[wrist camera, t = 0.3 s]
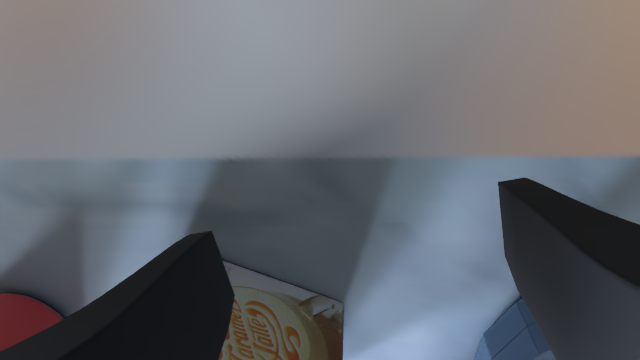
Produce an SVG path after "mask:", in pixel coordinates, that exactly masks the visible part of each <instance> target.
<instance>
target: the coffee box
mask: <svg viewBox="0 0 640 360" xmlns="http://www.w3.org/2000/svg"><path fill="white" fill-rule="evenodd" d="M223 264H224V266H225V269H226V272H227V275H228V277H229V280H230V283H231V286H232V288H233V291H234V294H235V297H234V303H233V309H232V315H231V320H230V325H229V329H228V332H227V335H226V338H225V341H224V344H223V347H222V350H221V353H220V356H219V359H218V360H343V323H344V305H343V303H341V302H339V301H336V300H333V299H331V298H328V297H325V296H322V295H319V294H316V293H313V292H310V291H308V290H305V289H302V288H299V287H296V286H294V285H291V284H288V283H285V282H282V281H279V280H276V279H274V278H271V277H268V276H265V275H262V274H259V273H257V272H254V271H251V270H248V269H245V268H242V267H240V266H237V265H234V264H231V263H228V262H225V261H223Z"/></svg>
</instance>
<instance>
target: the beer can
mask: <svg viewBox="0 0 640 360" xmlns="http://www.w3.org/2000/svg"><path fill="white" fill-rule="evenodd" d="M63 319H64V318H63V317H62V316H61V315H60V314H59V313H58V312H56V311H55V310H54V309H52V308H51V307H50V306H48V305H47V304H45V303H43V302H41V301H38V300H36V299H34V298H32V297H29V296H24V295H19V294H14V293H1V294H0V351H2V350H4V349H7V348H9V347H11V346H13V345H15V344H17V343H19V342H21V341H23V340H25V339H27V338H29V337H31V336H33V335H35V334H37V333H39V332H41V331H43V330H45V329H47V328H49V327H51V326H52V325H54V324H56V323H58V322H60V321H61V320H63Z"/></svg>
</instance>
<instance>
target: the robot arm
mask: <svg viewBox="0 0 640 360" xmlns="http://www.w3.org/2000/svg"><path fill="white" fill-rule="evenodd" d="M498 187H499V197H500V208H501V218H502V229H503V239H504V250H505V257H506V259H507V262H508V265H509V268H510V270H511V273H512V276H513V278H514V281H515V284H516V286H517V289H518V291H519V293H520V295H521V297H522V298H523V300H524V302H525V304H526V306H527V308H528V310H529V311H530V313H531V315H532V317H533V319H534V321H535V322H536V324H537V326H538V328H539V330H540V332H541V333H542V335H543V337H544V339H545V341H546V343H547V344H548V346H549V348H550V350H551V352H552V353H553V355H554V357H555V359H556V360H640V225H639V224H636V223H633V222H630V221H627V220H624V219H621V218H619V217H616V216H613V215H611V214H608V213H605V212H603V211H600V210H598V209H595V208H593V207H590V206H588V205H586V204H583V203H581V202H579V201H576V200H574V199H572V198H570V197H568V196H565V195H563V194H561V193H559V192H557V191H555V190H553V189H550V188H548V187H546V186H544V185H542V184H540V183H537V182H535V181H533V180H530V179H528V178H520V179H514V180H508V181H503V182H498ZM234 297H235V294H234V291H233V288H232V286H231V283H230V280H229V277H228V275H227V272H226V269H225V266H224V264H223V261H222V258H221V255H220V253H219V250H218V247H217V244H216V242H215V239H214V236H213V233H212V231H208V232H202V233H196V234H190V235H188V236H186V237H184V238H183V239H181V240H179V241H178V242H176V243H175V244H173V245H172V246H170V247H169V248H168V249H166V250H165V251H163V252H162V253H161V254H159V255H158V256H157V257H155V258H154V259H153V260H151V261H150V262H149V263H147V264H146V265H144V266H143V267H142V268H140V269H139V270H138V271H136V272H135V273H134V274H132V275H131V276H129V277H128V278H127V279H125V280H124V281H122V282H121V283H119V284H118V285H116V286H115V287H114V288H112V289H111V290H109V291H108V292H106V293H105V294H103V295H102V296H101V297H99V298H98V299H96V300H94V301H93V302H91V303H90V304H88V305H87V306H85V307H83V308H82V309H80V310H79V311H77V312H75V313H73V314H72V315H70V316H68V317H66V318H65V319H63V320H61V321H60V322H58V323H56V324H54V325H52V326H51V327H49V328H47V329H45V330H43V331H41V332H39V333H37V334H35V335H33V336H31V337H29V338H27V339H25V340H23V341H21V342H19V343H17V344H15V345H13V346H11V347H9V348H7V349H4V350H2V351H0V360H218V359H219V356H220V353H221V350H222V347H223V344H224V341H225V338H226V335H227V332H228V329H229V325H230V320H231V315H232V309H233V303H234Z"/></svg>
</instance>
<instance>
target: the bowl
mask: <svg viewBox="0 0 640 360" xmlns="http://www.w3.org/2000/svg"><path fill="white" fill-rule="evenodd" d="M473 360H556V359H555V357H554V355H553V353H552V352H551V350H550V348H549V346H548V344H547V343H546V341H545V339H544V337H543V335H542V333H541V332H540V330H539V328H538V326H537V324H536V322H535V321H534V319H533V317H532V315H531V313H530V311H529V310H528V308H527V306H526V304H525V302H524V300H523V299H522V300H519V301H518V302H516V303H515V304H513V305H512V306H511V307H510V308H509V309H508V310H507V311H506V312H505V313H504V314H503V315H502V316H501V317H500V318H499V319H498V320H497V321H496V322H495V323H494V324H493V325H492V326H491V327H490V328H489V329H488V330H487V331H486V332H485V333H484V334H483V337H482V339H481V342H480V344H479V347H478V349H477V352H476V354H475V357H474V359H473Z"/></svg>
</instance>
